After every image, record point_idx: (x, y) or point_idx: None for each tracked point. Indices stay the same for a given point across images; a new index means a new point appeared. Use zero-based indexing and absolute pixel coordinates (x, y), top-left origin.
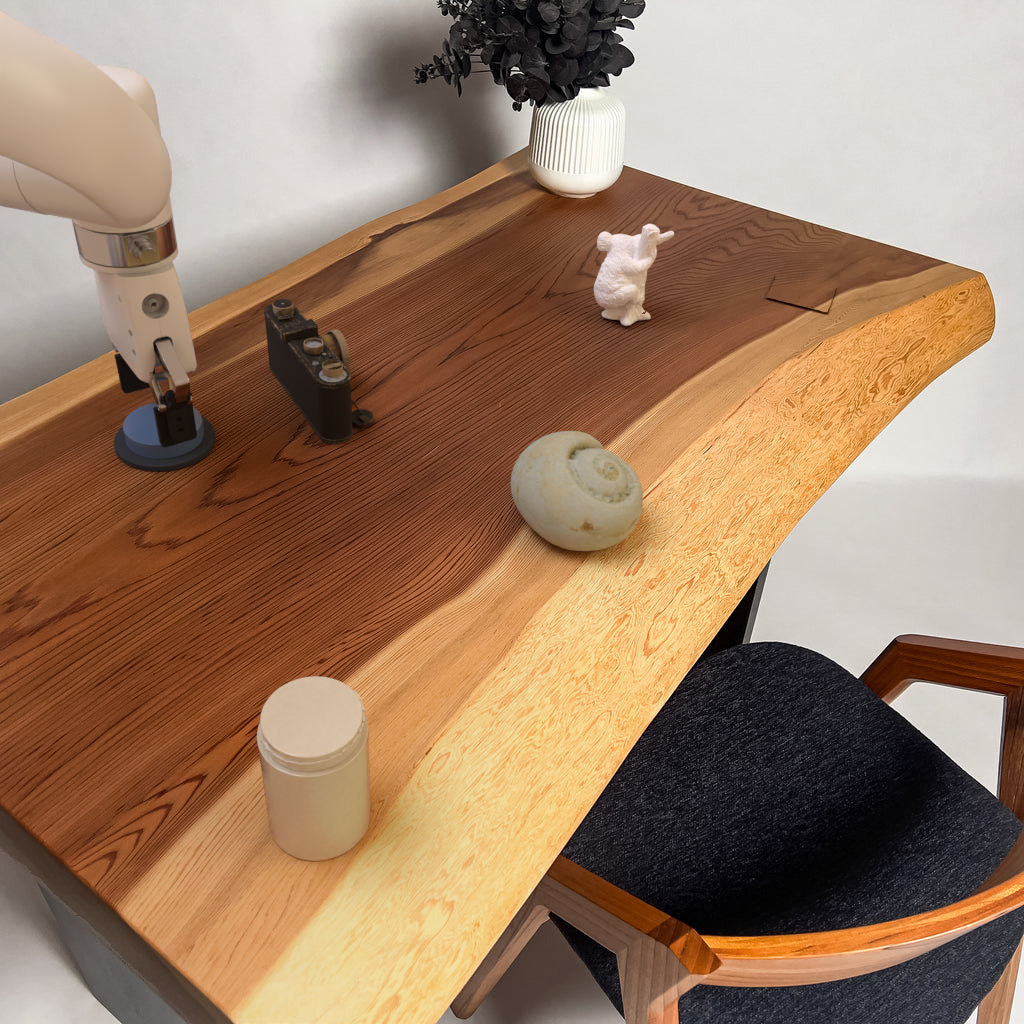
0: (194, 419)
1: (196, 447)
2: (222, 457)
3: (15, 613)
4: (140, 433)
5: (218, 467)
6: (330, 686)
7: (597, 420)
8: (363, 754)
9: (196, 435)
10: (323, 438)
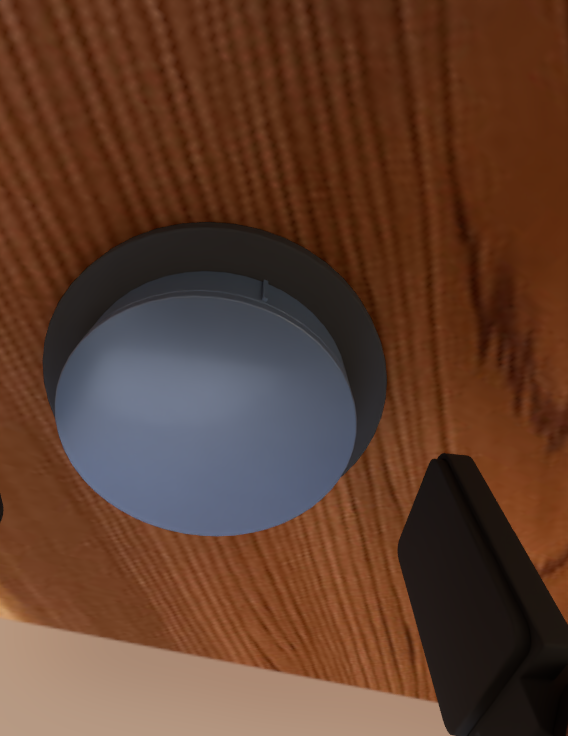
0: (510, 526)
1: (341, 352)
2: (419, 287)
3: None
4: (228, 507)
5: (454, 325)
6: None
7: None
8: None
9: (469, 459)
10: None
